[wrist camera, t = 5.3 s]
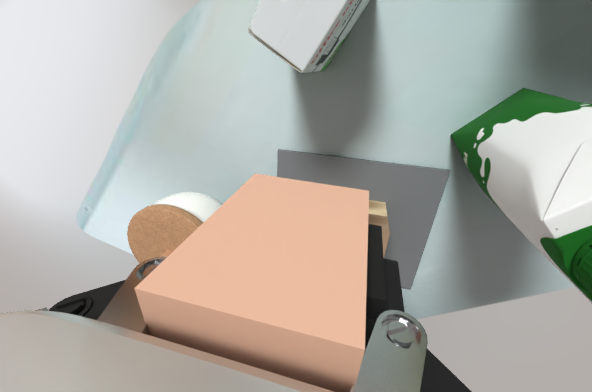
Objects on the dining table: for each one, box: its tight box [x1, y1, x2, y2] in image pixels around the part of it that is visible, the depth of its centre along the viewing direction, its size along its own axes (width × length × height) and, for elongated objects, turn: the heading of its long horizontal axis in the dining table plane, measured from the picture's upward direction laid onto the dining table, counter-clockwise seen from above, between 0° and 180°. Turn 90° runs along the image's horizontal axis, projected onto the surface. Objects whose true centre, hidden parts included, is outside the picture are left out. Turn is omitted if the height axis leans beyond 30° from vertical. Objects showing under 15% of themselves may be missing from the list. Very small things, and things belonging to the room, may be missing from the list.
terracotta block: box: [134, 174, 369, 392], centre depth 10 cm, size 5×5×7 cm
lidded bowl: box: [127, 192, 222, 263], centre depth 36 cm, size 13×13×11 cm
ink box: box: [248, 0, 370, 73], centre depth 21 cm, size 9×5×12 cm, turn 145°
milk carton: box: [451, 88, 592, 303], centre depth 19 cm, size 9×9×20 cm
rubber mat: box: [277, 149, 450, 289], centre depth 36 cm, size 20×18×1 cm
